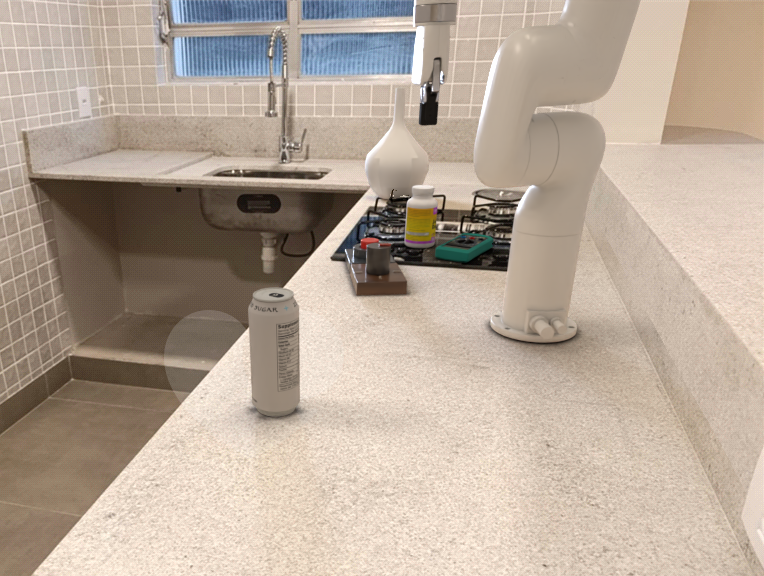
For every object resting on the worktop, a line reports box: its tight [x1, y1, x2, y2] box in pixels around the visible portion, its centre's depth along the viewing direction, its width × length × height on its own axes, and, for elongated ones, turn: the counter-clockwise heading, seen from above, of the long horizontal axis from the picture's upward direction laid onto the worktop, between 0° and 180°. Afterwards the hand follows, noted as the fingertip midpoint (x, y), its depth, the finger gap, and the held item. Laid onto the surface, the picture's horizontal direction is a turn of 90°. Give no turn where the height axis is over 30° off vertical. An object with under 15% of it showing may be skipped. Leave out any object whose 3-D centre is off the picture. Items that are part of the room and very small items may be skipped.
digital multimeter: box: [434, 232, 494, 264], centre depth 148 cm, size 7×15×3 cm, turn 142°
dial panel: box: [349, 262, 408, 297], centre depth 130 cm, size 12×9×3 cm
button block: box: [344, 242, 397, 275], centre depth 142 cm, size 11×9×4 cm
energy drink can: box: [247, 286, 301, 418], centre depth 84 cm, size 6×6×15 cm
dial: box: [366, 242, 392, 275], centre depth 129 cm, size 4×4×5 cm
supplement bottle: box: [403, 184, 438, 249], centre depth 153 cm, size 7×7×13 cm
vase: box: [364, 87, 430, 201], centre depth 200 cm, size 18×18×30 cm
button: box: [360, 237, 380, 249], centre depth 141 cm, size 4×4×2 cm
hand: (427, 124), depth 133 cm, fingers closed
